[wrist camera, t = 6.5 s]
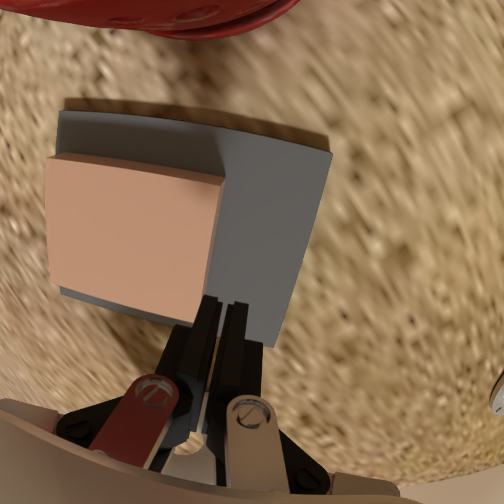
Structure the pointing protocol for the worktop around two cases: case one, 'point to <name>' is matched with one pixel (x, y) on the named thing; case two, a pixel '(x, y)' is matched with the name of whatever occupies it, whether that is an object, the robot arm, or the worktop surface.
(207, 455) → the donut
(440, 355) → the worktop surface
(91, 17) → the plant pot
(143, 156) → the mat
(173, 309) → the tile
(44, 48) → the worktop surface
